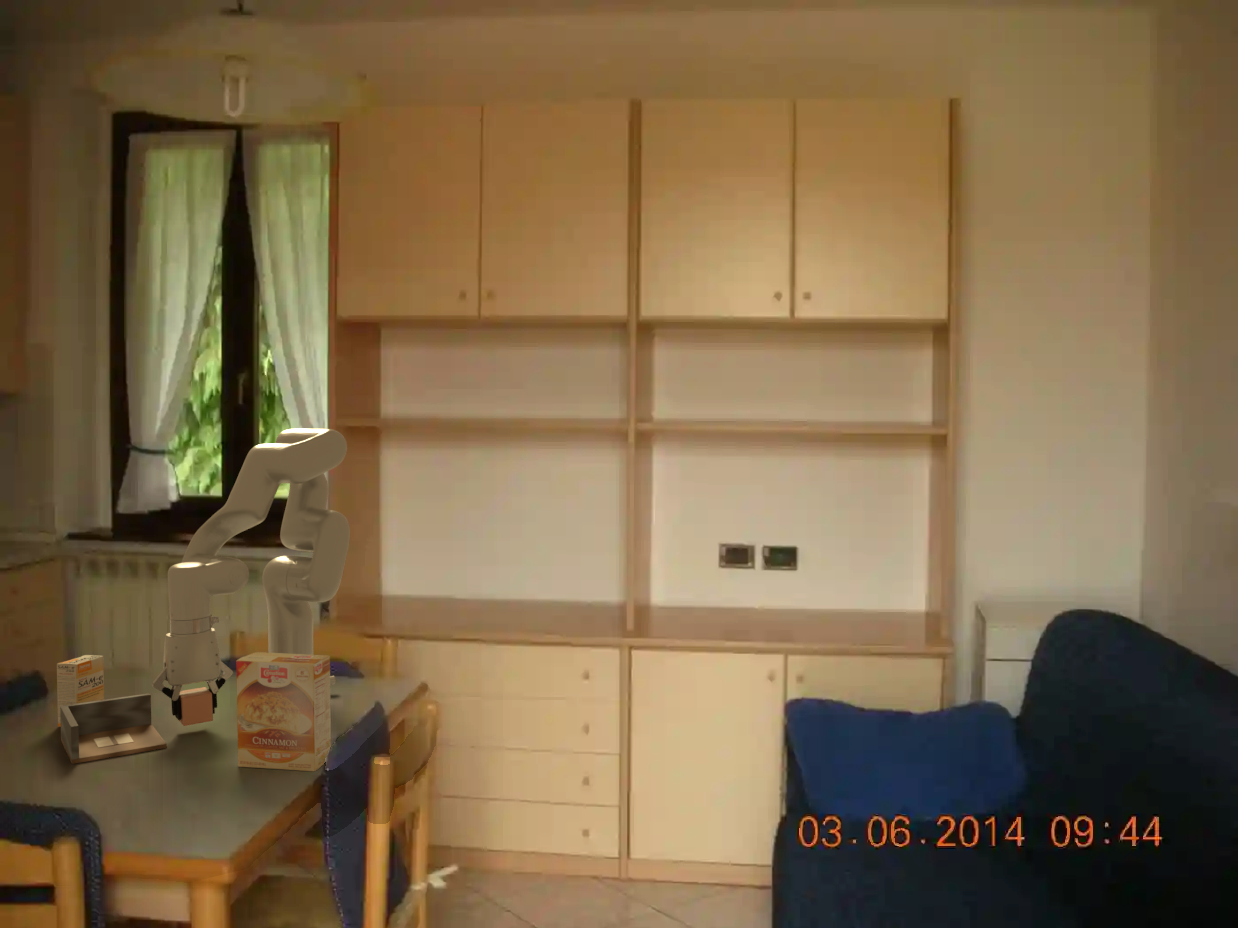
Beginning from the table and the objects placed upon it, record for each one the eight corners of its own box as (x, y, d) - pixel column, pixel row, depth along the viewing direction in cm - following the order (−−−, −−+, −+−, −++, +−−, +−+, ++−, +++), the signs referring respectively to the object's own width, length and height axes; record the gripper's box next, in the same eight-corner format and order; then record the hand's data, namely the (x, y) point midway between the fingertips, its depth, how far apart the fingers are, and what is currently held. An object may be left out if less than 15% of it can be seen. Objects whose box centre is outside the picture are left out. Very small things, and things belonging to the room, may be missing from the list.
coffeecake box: (236, 767, 186) (234, 659, 185) (256, 754, 193) (255, 650, 192) (314, 772, 184) (313, 663, 183) (332, 759, 191) (331, 653, 190)
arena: (150, 726, 210) (149, 693, 210) (166, 747, 197) (165, 712, 196) (61, 740, 201) (60, 705, 201) (71, 763, 188) (70, 726, 187)
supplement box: (78, 728, 208) (76, 664, 208) (57, 727, 209) (55, 663, 209) (106, 717, 216) (104, 654, 216) (85, 715, 217) (84, 653, 217)
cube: (206, 713, 210) (205, 686, 210) (213, 720, 206) (211, 692, 205) (177, 718, 207) (176, 691, 207) (183, 726, 203) (182, 697, 202)
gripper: (230, 615, 213) (234, 702, 214) (140, 628, 203) (144, 718, 205) (240, 622, 207) (244, 711, 208) (147, 635, 197) (152, 728, 199)
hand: (195, 714), depth 207 cm, fingers closed on cube, 5 cm apart
